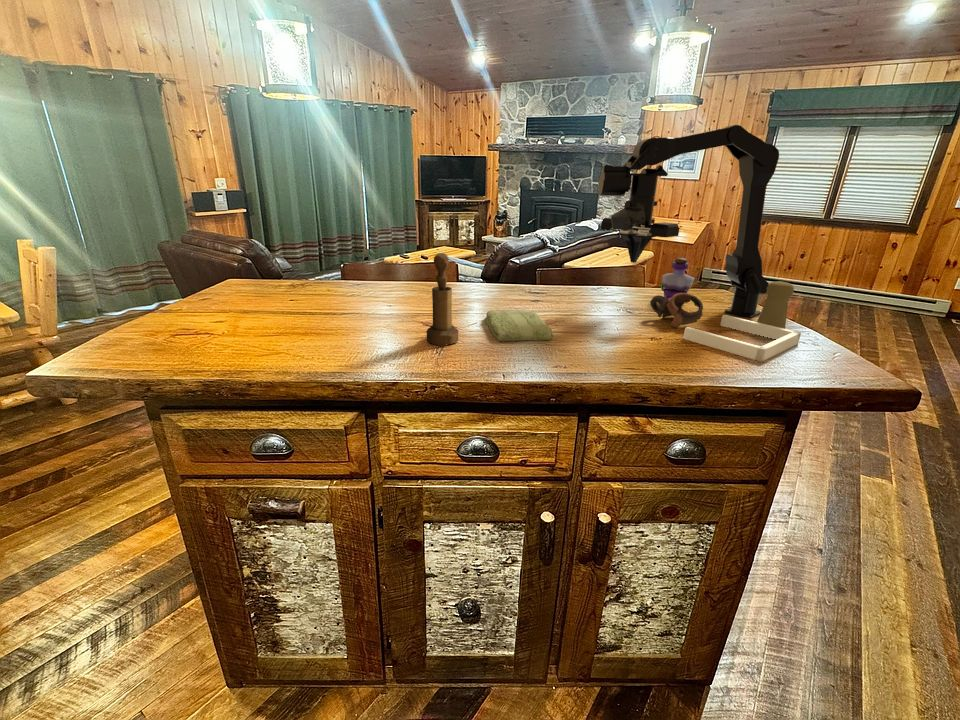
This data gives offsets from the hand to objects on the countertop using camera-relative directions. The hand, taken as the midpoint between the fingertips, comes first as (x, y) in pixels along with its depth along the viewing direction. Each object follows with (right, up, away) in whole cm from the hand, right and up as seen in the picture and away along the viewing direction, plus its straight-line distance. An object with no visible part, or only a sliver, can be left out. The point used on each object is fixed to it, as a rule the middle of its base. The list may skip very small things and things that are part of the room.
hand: (633, 262), depth 117 cm
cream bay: (+17, -20, -16) cm, 31 cm away
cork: (+29, -17, -8) cm, 35 cm away
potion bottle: (+16, -8, +14) cm, 23 cm away
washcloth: (-30, -18, -11) cm, 37 cm away
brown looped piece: (+8, -16, -4) cm, 18 cm away
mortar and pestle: (-46, -21, -19) cm, 54 cm away
